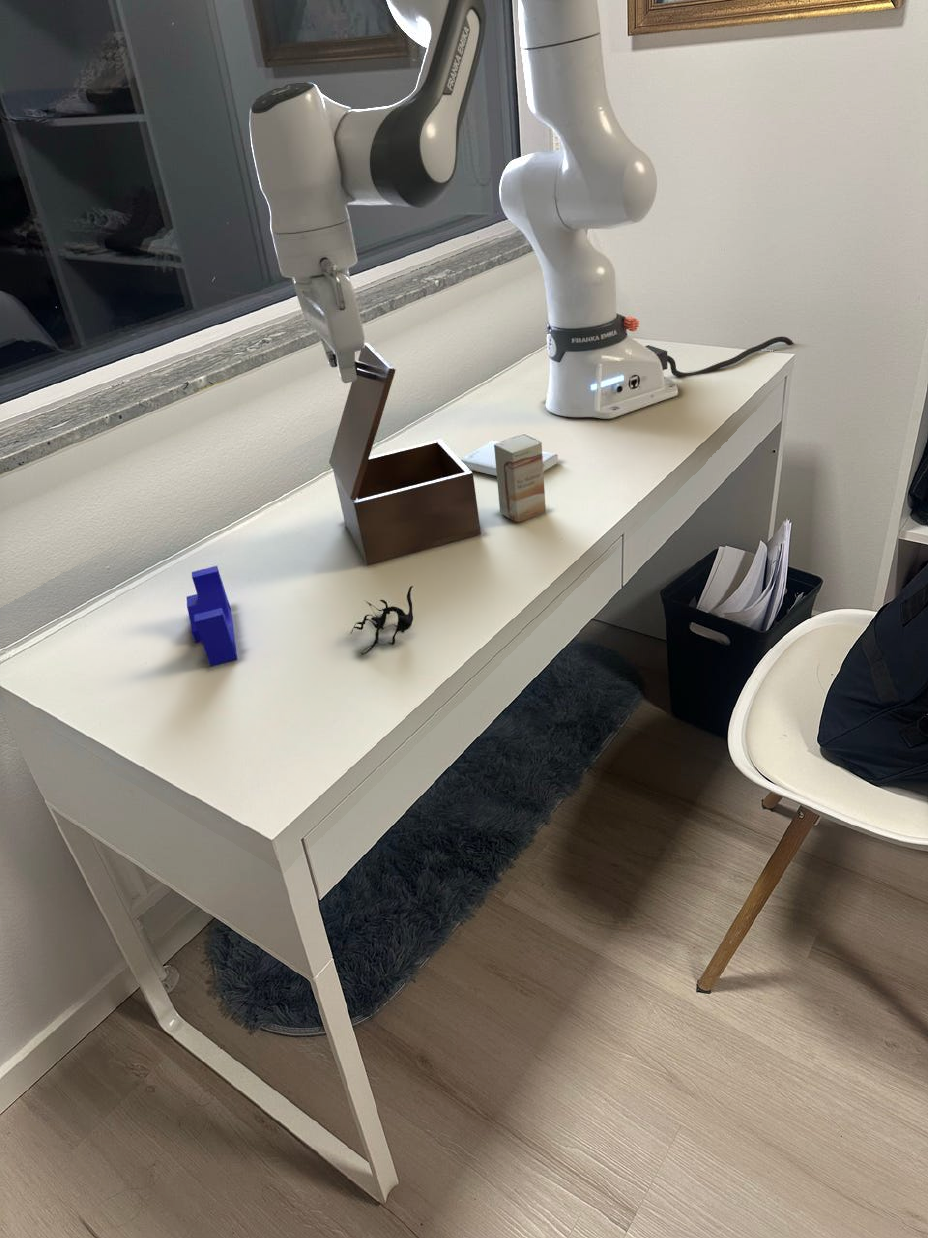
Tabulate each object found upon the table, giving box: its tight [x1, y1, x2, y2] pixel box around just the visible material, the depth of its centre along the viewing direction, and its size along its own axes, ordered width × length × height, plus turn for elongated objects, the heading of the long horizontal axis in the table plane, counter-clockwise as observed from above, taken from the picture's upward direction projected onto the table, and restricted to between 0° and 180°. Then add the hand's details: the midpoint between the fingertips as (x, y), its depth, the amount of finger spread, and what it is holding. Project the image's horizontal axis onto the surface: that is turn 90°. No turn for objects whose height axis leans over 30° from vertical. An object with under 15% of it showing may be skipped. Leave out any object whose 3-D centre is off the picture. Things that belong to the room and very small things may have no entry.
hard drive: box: [460, 440, 559, 477], centre depth 134 cm, size 2×8×12 cm
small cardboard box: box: [494, 433, 547, 523], centre depth 118 cm, size 5×4×10 cm
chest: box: [332, 439, 482, 566], centre depth 118 cm, size 16×14×9 cm
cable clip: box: [186, 565, 238, 667], centre depth 102 cm, size 12×4×6 cm, turn 16°
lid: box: [328, 342, 396, 500], centre depth 110 cm, size 16×14×5 cm
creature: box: [349, 585, 414, 655], centre depth 98 cm, size 8×5×8 cm
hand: (342, 372), depth 107 cm, fingers closed on lid, 6 cm apart
